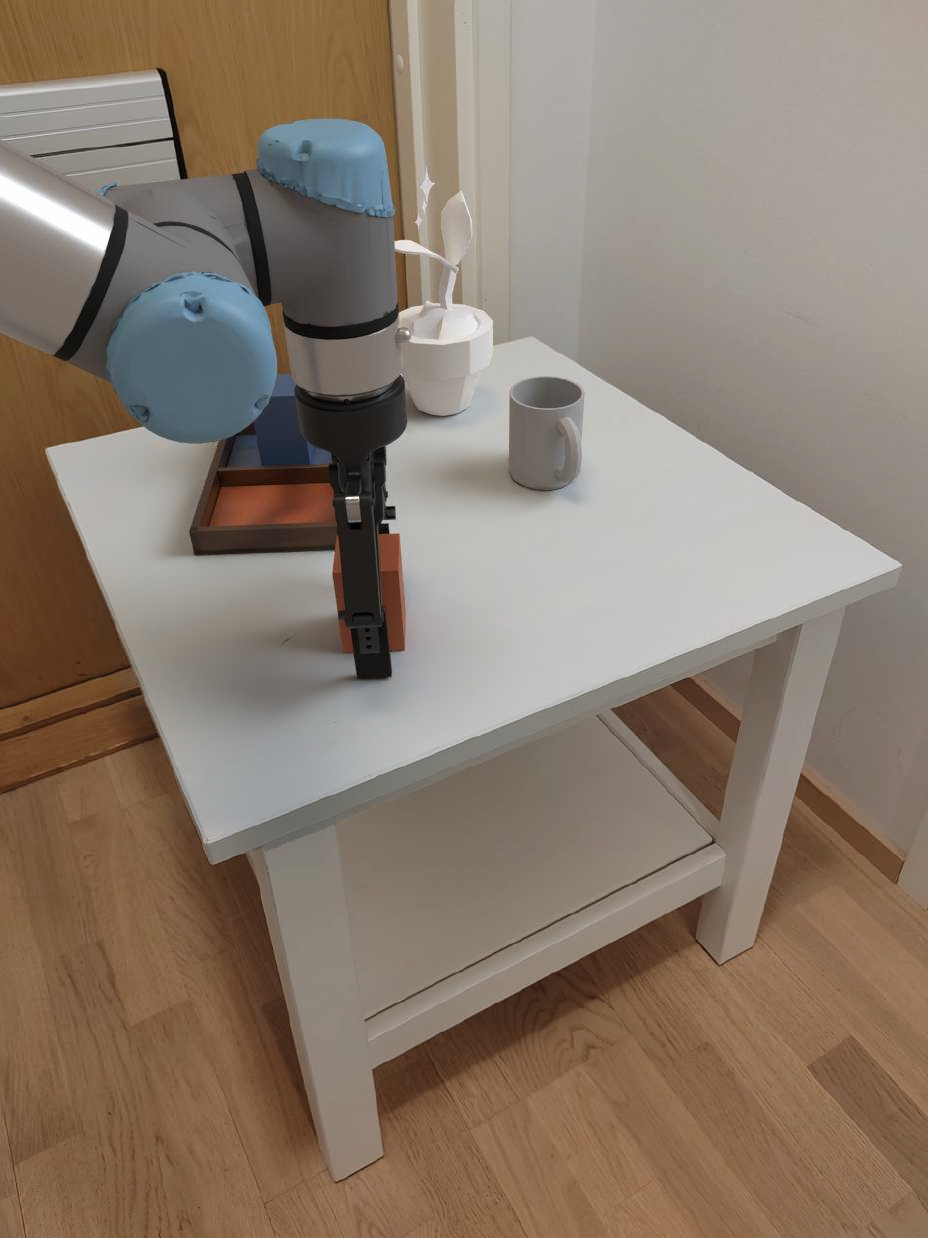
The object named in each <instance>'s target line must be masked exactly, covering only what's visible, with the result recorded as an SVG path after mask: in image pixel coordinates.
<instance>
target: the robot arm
mask: <svg viewBox="0 0 928 1238" xmlns="http://www.w3.org/2000/svg"><path fill="white" fill-rule="evenodd" d="M257 156H258V157H257V159H255V162H256V163H255V164H256V168H253V169H247V170H244V171H243V172H239V173H238V172H237V173H229V174H221V175H211V176H203V177H202V176H201V177H192V178H182V179H173V180H162V181H155V182H154V181H153V182H146V183H135V184H124V185H123V184H117V183H114V182H113V183H109V184H105V185H104V186H102V187H101V188H95V189H92V188H89V187H87V186H86V185H84V184H82V183H80V182H78V181H76V180H75V179H73V178H71V177H69V176H68V175H66V174H65V173H62V172H60V171H58V170H57V169H55V168H53V167H51V166H49V165H48V164H46V163H44V162H42V161H41V160H39V159H37V158H35V157H34V156H32V155H29V154H28V153H26V152H25V151H23V150H20V149H19V148H17V147H15V146H14V145H12V144H10V143H8V142H6V141H4V140H2V139H1V138H0V334H1V335H4V336H6V337H8V338H11V339H13V340H16V341H18V342H20V343H22V344H25V345H27V346H29V347H31V348H34V349H36V350H38V351H40V352H43V353H45V354H47V355H49V356H51V357H53V358H56V359H59V360H61V361H63V362H65V363H68V364H70V365H72V366H74V367H76V368H78V369H80V370H82V371H85V372H87V373H89V374H91V375H93V376H95V377H98V378H99V379H102V380H104V381H107V382H109V383H110V384H111V385H112V386H113V390H114V393H115V395H116V396H117V398H118V400H119V401H120V403H122V405H123V406H124V408H125V409H126V411H127V413H129V414H130V416H132V417H133V419H134V420H135V421H136V422H137V423H139V424H140V425H141V426H142V427H144V428H145V429H146V430H148V431H149V432H150V433H152V434H154V435H156V436H158V437H161V438H163V439H166V440H167V441H171V442H176V443H179V444H181V443H182V444H189V445H190V444H191V445H193V444H194V445H195V444H196V445H197V444H198V445H202V444H210V443H215V442H219V441H220V440H223V439H226V438H229V437H231V436H233V435H235V434H237V433H239V432H240V431H242V430H243V429H245V428H246V427H248V426H249V425H250V424H251V423H252V422H253V421H254V420H256V418H257V417H258V416H259V415H260V414H261V412H262V411H263V409H264V408H265V407H266V406H267V404H268V403H269V399H270V397H271V395H272V392H273V389H274V386H275V382H276V377H277V374H278V358H277V356H278V355H277V351H276V348H275V347H276V346H275V343H274V339H273V338H274V337H273V336H274V335H273V330H272V326H271V321H270V319H269V315H268V313H267V311H266V309H265V307H269V306H271V305H275V304H281V307H282V311H281V312H282V318H283V319H282V324H283V332H284V338H285V344H286V352H287V359H288V365H289V366H288V367H289V374H291V377H292V380H293V381H294V382H295V383H296V386H295V390H294V393H295V399H296V406H297V413H298V419H299V426H300V431H301V434H302V436H303V437H304V439H305V440H306V441H307V442H308V443H310V444H311V445H312V446H314V447H316V448H319V449H321V450H325V451H328V452H330V453H331V457H332V463H329V482H330V485H331V487H332V488H333V490H334V500H333V507H334V508H335V519H336V522H337V528H338V539H339V550H340V561H341V572H342V583H343V594H344V605H345V610H340V611H339V612H337V618H338V621H339V620H344V621H345V623H346V627H347V628H350V630H351V638H352V645H353V652H352V653H353V659H354V667H355V675H356V679H357V680H360V679H380V678H381V679H382V678H392V677H393V668H392V667H393V665H392V657H391V651H390V646H389V636H388V626H387V617H386V607H385V606H383V604H382V587H381V569H380V551H379V534H391V533H390V523H389V522H385V523H383V521H396V520H397V511H396V510H397V509H396V505H387V504H386V503H387V501H388V500H387V499H388V498H389V492H388V491H387V486H386V482H387V468H386V466H387V464H388V463H387V459H388V458H387V446H389V445H391V444H392V443H394V442H395V441H397V440H398V439H400V438H401V436H402V435H403V434H404V432H405V431H406V429H407V426H408V409H407V408H408V407H407V394H406V382H405V380H404V378H403V375H402V373H401V372H402V369H403V361H402V347H401V343H406V342H408V341H409V340H410V339H411V333H410V331H409V329H408V328H406V327H401V328H398V326H399V312H400V308H399V307H400V306H399V296H398V283H397V282H398V279H397V265H396V264H397V263H396V261H397V260H396V251H395V241H396V240H395V223H394V215H395V214H396V209H395V205H394V203H393V197H392V189H391V181H390V174H389V173H390V172H389V166H388V160H387V153H386V147H385V144H384V140H383V138H382V137H381V136H380V135H379V134H378V133H377V131H375V130H374V129H373V128H372V127H371V126H369V125H368V124H365V123H363V122H360V121H355V120H351V119H342V118H309V119H299V120H295V121H293V122H290V123H282V124H281V123H280V124H277V125H274V126H271V127H270V128H268V129H266V130H265V131H263V133H262V134H261V135H260V137H259V139H258V141H257Z"/></svg>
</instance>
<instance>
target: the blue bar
mask: <svg viewBox="0 0 928 1238" xmlns="http://www.w3.org/2000/svg"><path fill="white" fill-rule="evenodd" d="M295 386H296V383H295V382H294V381H293V380H292V377H291V373H277V377H276V382H275V386H274V389H273V392H272V395H271V397H270V399H269V403H268V404H267V406H266V407H265V408H264V409H263V411H262V412H261V414H260V415H259V416H258V417H257V418H256V420H254V426H255V432H256V438H257V443H258V449H259V455H260V460H261V466H283V465H310V464H311V461H312V455H313V449H314V446H312V445H311V444H310V443H308V442H307V441H306V440H305V439H304V437H303V436H302V434H301V431H300V426H299V419H298V413H297V406H296V399H295V393H294V390H295Z"/></svg>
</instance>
